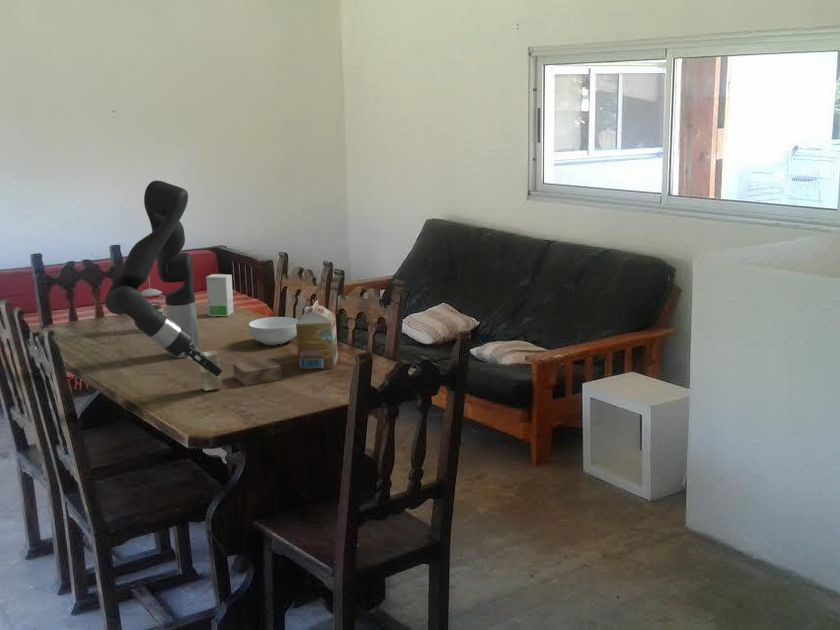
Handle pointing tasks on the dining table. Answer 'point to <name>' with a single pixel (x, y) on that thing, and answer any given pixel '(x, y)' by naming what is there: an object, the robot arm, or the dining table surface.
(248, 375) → the walnut base
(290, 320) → the cereal bowl
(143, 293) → the french press
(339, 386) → the dining table surface
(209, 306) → the skincare box
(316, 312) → the milk carton
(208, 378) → the beech block
